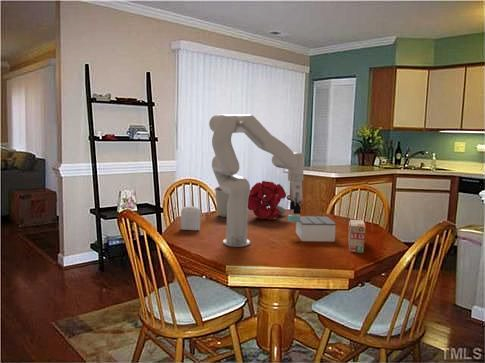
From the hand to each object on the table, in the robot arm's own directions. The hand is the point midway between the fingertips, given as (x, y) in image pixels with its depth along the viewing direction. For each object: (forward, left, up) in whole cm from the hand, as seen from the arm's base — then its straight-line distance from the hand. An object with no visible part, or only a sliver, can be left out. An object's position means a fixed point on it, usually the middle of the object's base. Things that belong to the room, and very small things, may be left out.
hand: (295, 211), depth 203 cm
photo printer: (+13, +53, -13) cm, 56 cm away
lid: (0, -8, -5) cm, 9 cm away
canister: (+49, +32, -13) cm, 60 cm away
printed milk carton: (-16, -26, -13) cm, 33 cm away
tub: (0, -10, -13) cm, 17 cm away
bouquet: (+43, +7, -13) cm, 45 cm away
